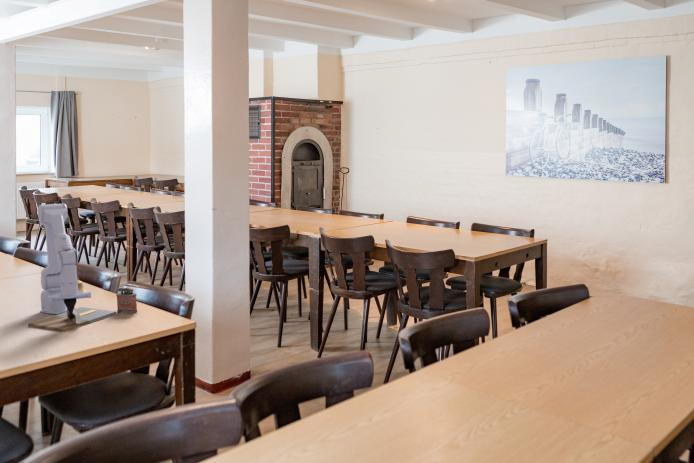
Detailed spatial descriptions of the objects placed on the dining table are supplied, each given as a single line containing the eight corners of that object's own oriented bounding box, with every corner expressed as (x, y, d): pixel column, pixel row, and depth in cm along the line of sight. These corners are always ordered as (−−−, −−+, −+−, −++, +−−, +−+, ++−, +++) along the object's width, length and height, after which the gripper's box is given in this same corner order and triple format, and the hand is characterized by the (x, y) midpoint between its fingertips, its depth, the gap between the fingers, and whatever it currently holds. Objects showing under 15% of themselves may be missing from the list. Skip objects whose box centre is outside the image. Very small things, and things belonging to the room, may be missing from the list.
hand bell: (83, 296, 302) (80, 260, 299) (64, 296, 302) (61, 260, 299) (90, 291, 310) (88, 256, 308) (72, 291, 310) (69, 256, 308)
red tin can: (138, 311, 275) (137, 286, 273) (135, 313, 271) (134, 288, 270) (119, 310, 276) (117, 286, 274) (115, 313, 272) (114, 288, 271)
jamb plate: (28, 326, 255) (28, 323, 255) (54, 318, 266) (54, 315, 266) (64, 331, 247) (64, 329, 247) (89, 323, 258) (89, 320, 258)
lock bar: (66, 316, 262) (66, 308, 262) (74, 315, 264) (73, 307, 263) (74, 324, 252) (73, 315, 251) (82, 323, 253) (81, 314, 253)
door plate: (54, 318, 266) (54, 315, 266) (82, 309, 278) (81, 306, 278) (89, 323, 258) (89, 320, 258) (116, 314, 271) (116, 311, 271)
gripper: (47, 286, 246) (50, 323, 248) (90, 282, 252) (93, 318, 254) (47, 283, 252) (49, 319, 254) (89, 279, 258) (91, 314, 260)
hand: (71, 318), depth 255 cm, fingers closed, pressing on lock bar
